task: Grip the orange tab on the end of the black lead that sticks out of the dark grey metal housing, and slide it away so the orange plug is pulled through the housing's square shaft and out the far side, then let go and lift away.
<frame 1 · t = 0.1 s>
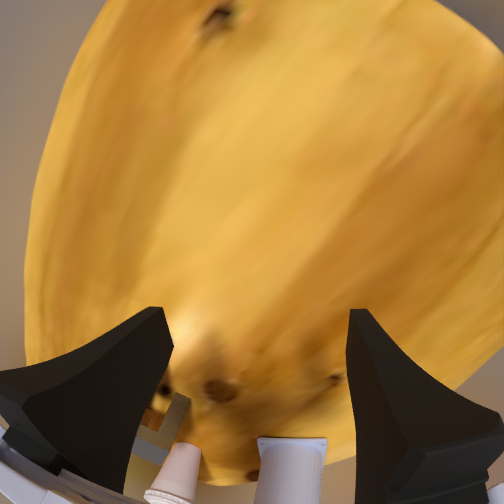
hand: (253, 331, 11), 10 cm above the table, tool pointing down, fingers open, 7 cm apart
smoothie: (188, 447, 34), on the table
housing: (144, 390, 30), on the table
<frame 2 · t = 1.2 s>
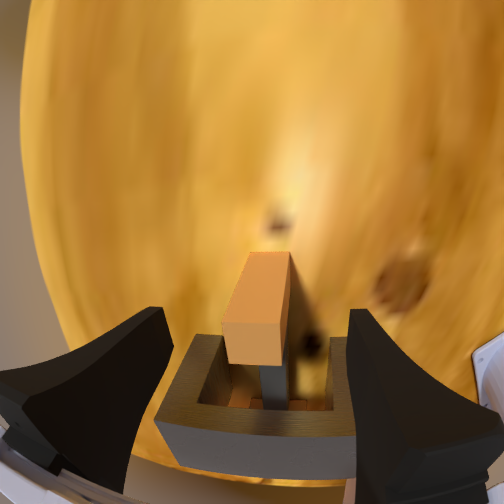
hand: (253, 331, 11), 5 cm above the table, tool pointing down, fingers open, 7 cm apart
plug: (279, 415, 21), on the table
housing: (277, 366, 19), on the table
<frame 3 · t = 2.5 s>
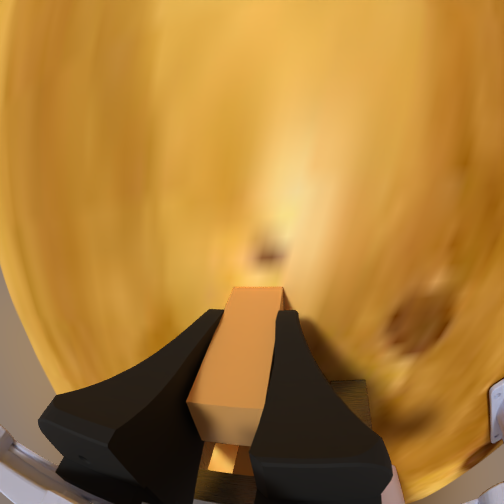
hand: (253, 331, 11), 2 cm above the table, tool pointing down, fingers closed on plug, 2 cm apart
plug: (272, 453, 17), on the table, touching gripper
smoothie: (373, 471, 18), on the table
housing: (268, 409, 15), on the table
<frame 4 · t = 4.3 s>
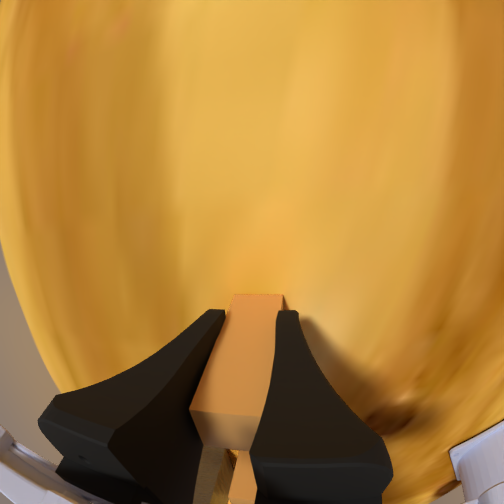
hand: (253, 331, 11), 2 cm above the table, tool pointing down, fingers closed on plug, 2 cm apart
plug: (273, 455, 18), on the table, touching gripper
housing: (273, 464, 18), on the table
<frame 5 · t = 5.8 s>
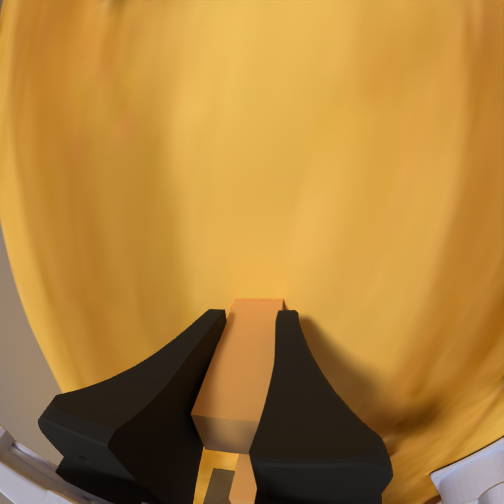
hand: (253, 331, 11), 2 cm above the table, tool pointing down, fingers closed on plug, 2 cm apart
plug: (273, 456, 18), on the table, touching gripper
housing: (275, 485, 20), on the table
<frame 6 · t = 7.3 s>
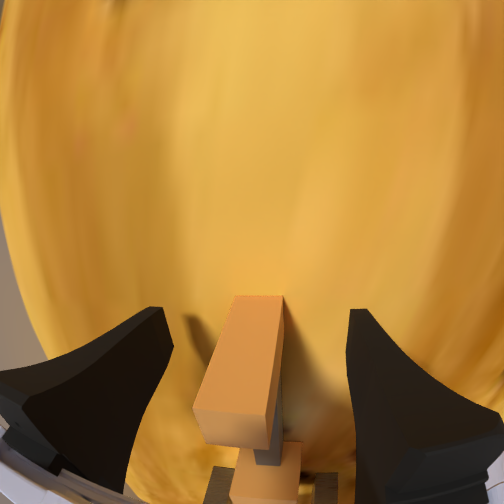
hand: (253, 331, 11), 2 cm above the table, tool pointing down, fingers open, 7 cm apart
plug: (273, 454, 18), on the table
housing: (275, 483, 20), on the table
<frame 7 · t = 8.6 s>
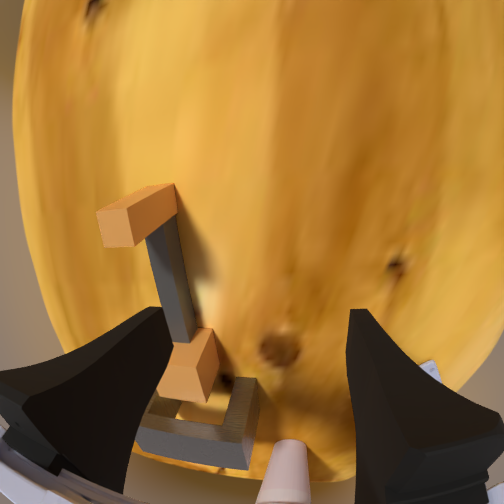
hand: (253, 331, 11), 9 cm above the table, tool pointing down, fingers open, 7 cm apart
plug: (193, 345, 25), on the table
smoothie: (290, 445, 30), on the table
housing: (206, 391, 27), on the table
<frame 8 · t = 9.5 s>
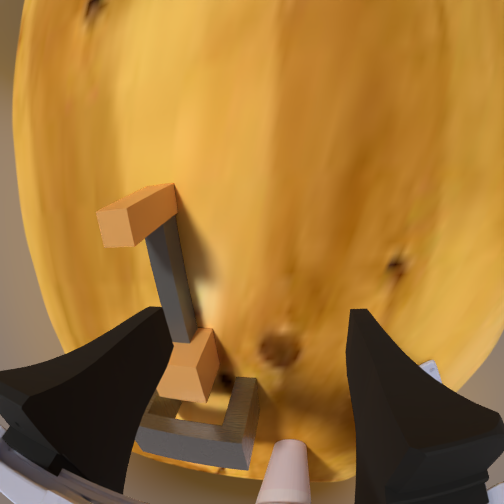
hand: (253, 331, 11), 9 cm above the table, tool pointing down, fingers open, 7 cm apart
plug: (193, 345, 25), on the table
smoothie: (290, 445, 29), on the table
housing: (206, 391, 27), on the table
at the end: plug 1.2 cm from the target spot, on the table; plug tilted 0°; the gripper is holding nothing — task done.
